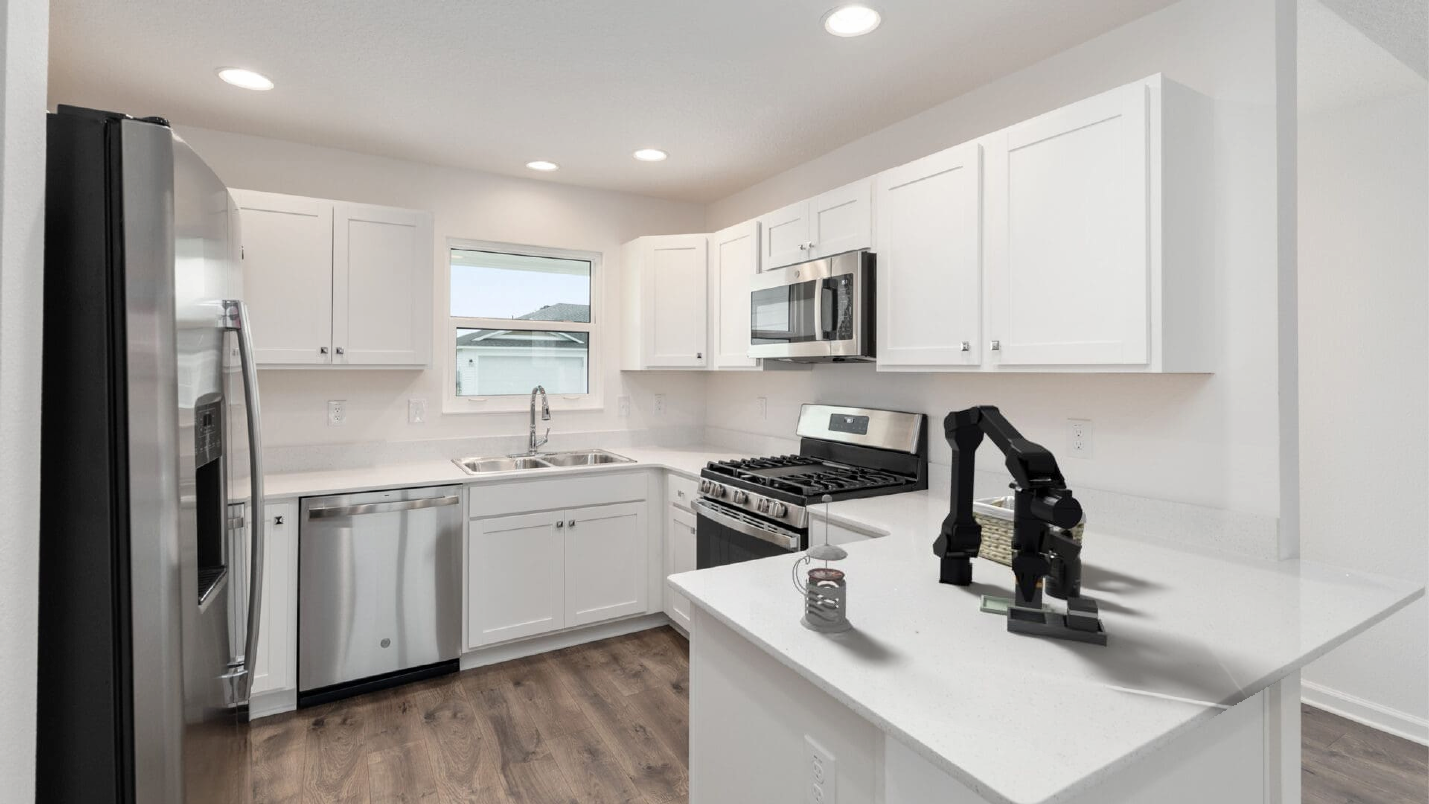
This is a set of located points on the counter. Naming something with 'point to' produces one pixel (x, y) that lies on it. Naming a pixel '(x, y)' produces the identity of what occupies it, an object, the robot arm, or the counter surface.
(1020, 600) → the dark grey striped block
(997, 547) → the storage basket
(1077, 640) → the strip
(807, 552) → the french press
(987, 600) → the tray
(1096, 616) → the twin plug
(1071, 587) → the supplement bottle
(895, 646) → the counter surface
